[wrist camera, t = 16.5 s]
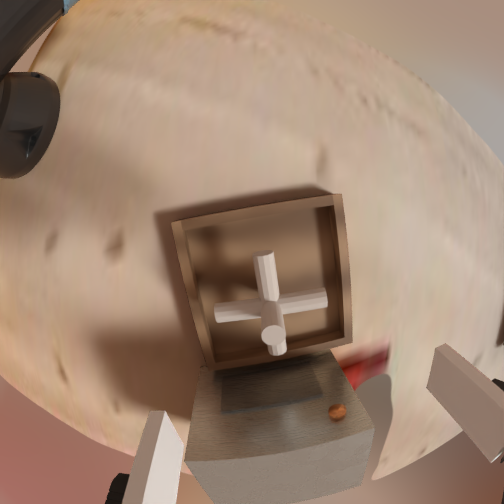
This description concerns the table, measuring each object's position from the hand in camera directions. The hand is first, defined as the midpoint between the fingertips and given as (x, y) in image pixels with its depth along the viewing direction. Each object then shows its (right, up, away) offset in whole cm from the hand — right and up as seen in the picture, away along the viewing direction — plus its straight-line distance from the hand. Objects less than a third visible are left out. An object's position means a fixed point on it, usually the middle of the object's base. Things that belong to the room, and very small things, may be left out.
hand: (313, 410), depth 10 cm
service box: (0, -12, +22) cm, 25 cm away
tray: (-1, +4, +19) cm, 20 cm away
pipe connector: (-1, +4, +19) cm, 19 cm away
